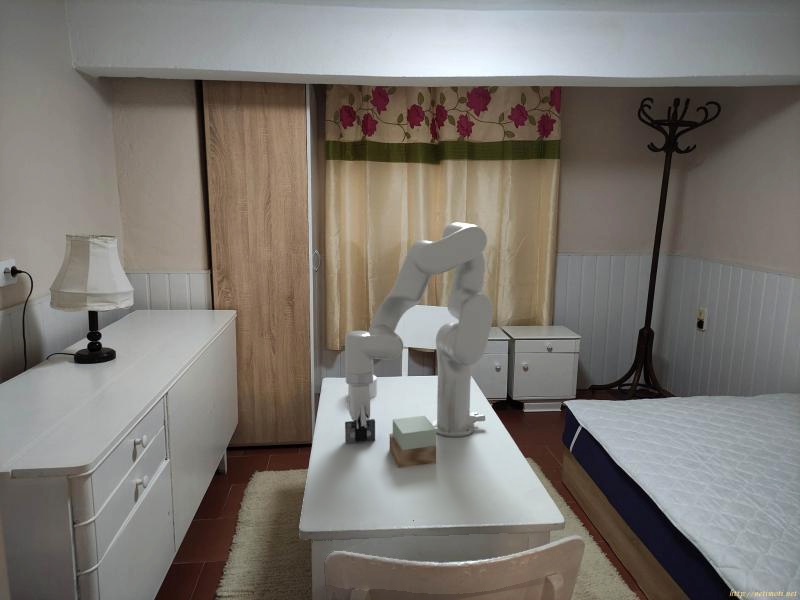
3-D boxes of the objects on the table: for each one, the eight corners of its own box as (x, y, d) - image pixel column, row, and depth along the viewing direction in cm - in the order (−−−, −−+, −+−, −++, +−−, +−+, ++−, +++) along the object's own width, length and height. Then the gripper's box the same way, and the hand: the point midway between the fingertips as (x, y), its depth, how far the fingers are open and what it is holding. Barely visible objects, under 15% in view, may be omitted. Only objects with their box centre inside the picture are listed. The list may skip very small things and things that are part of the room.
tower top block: (424, 431, 147) (424, 415, 146) (436, 445, 138) (436, 429, 138) (392, 435, 144) (392, 419, 144) (402, 450, 136) (402, 433, 135)
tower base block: (425, 447, 148) (425, 430, 148) (435, 464, 139) (436, 446, 138) (389, 451, 146) (389, 433, 145) (398, 469, 137) (398, 450, 136)
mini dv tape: (374, 438, 153) (374, 418, 152) (375, 440, 151) (375, 420, 150) (345, 441, 151) (344, 421, 150) (346, 443, 150) (345, 423, 148)
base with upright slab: (349, 390, 190) (349, 357, 187) (375, 388, 191) (374, 356, 189) (352, 400, 181) (351, 365, 179) (378, 398, 183) (378, 364, 180)
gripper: (342, 368, 154) (343, 428, 158) (349, 387, 139) (351, 453, 143) (368, 366, 156) (368, 426, 159) (378, 384, 141) (379, 450, 145)
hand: (360, 438), depth 151 cm, fingers closed on mini dv tape, 1 cm apart
